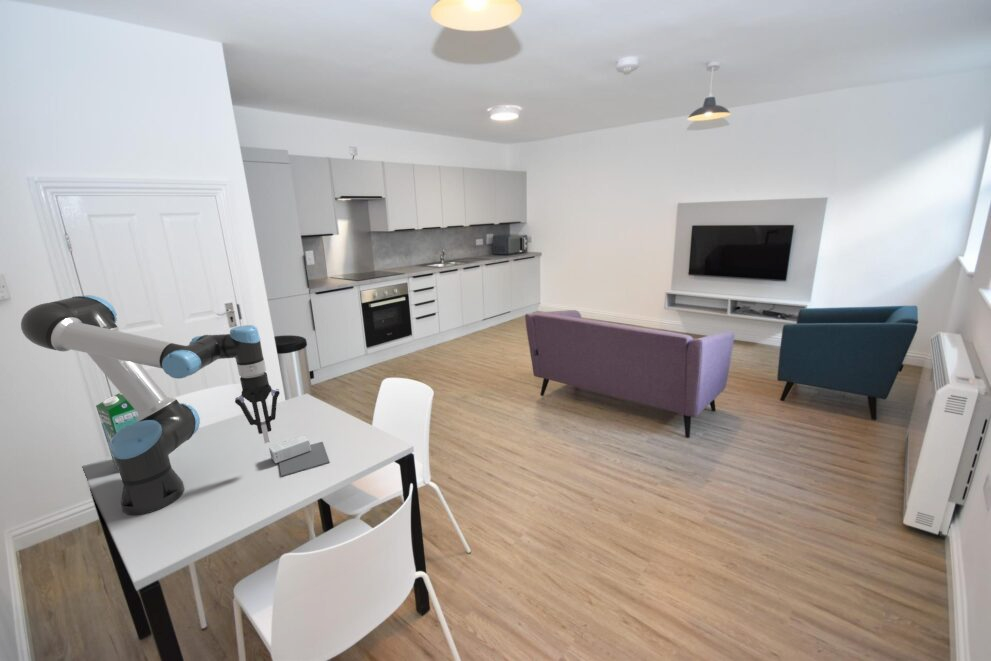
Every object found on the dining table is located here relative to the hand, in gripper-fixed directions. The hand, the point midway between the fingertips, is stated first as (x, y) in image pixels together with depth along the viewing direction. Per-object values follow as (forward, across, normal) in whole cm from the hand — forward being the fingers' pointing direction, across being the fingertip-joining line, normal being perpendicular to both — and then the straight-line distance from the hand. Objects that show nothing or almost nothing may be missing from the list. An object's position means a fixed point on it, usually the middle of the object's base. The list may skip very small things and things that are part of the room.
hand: (267, 440), depth 143 cm
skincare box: (+7, 0, +4) cm, 8 cm away
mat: (+10, +10, 0) cm, 14 cm away
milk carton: (+10, -42, +32) cm, 54 cm away
